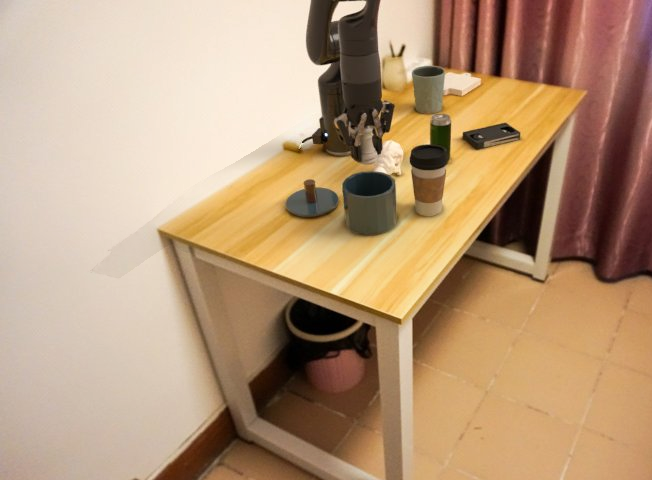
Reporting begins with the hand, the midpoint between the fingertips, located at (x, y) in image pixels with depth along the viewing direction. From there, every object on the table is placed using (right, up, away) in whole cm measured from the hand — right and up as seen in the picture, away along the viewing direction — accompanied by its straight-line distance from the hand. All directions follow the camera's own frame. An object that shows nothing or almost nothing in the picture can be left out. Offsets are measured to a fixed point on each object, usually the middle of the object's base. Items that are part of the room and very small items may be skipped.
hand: (367, 156), depth 112 cm
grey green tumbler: (+16, +26, +59) cm, 67 cm away
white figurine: (+3, -1, +25) cm, 25 cm away
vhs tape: (+33, +13, +41) cm, 54 cm away
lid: (-14, -8, +15) cm, 22 cm away
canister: (0, -13, +10) cm, 16 cm away
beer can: (+18, +5, +32) cm, 37 cm away
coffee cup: (+13, -10, +13) cm, 21 cm away
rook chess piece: (0, -1, +1) cm, 1 cm away
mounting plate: (+26, +38, +74) cm, 87 cm away
